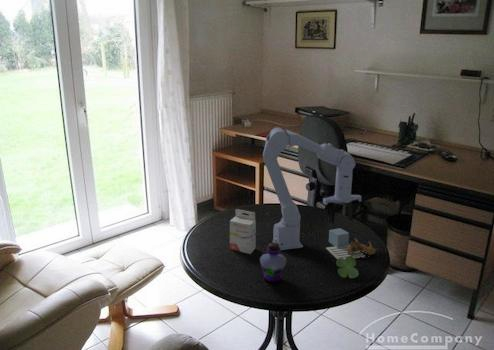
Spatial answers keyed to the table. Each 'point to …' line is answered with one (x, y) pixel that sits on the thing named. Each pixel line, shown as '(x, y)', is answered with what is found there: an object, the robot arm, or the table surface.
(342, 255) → the white slatted trivet
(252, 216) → the ink cartridge box
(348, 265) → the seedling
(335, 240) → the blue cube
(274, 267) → the potion bottle
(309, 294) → the table surface
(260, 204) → the table surface
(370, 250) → the lion figurine
